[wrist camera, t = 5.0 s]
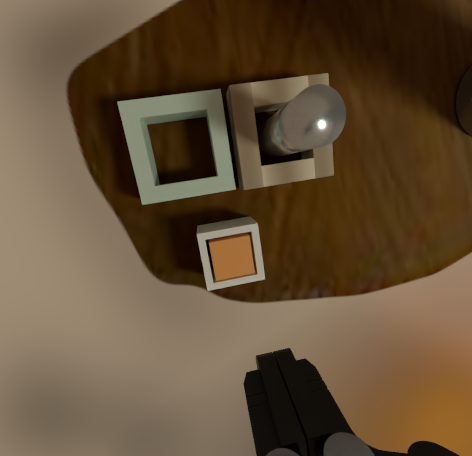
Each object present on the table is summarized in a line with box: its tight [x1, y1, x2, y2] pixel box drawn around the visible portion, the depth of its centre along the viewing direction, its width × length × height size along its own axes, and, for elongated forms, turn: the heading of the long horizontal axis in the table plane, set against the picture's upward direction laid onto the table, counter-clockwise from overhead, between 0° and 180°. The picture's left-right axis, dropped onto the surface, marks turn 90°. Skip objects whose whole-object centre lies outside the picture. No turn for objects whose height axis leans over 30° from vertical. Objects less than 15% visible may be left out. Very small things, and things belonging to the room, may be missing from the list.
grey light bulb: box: [258, 84, 346, 157], centre depth 22 cm, size 4×4×10 cm
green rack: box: [117, 89, 236, 205], centre depth 24 cm, size 9×9×3 cm
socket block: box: [226, 73, 334, 190], centre depth 25 cm, size 9×9×3 cm
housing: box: [197, 216, 265, 291], centre depth 26 cm, size 6×6×4 cm
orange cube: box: [209, 232, 255, 281], centre depth 26 cm, size 4×4×4 cm
